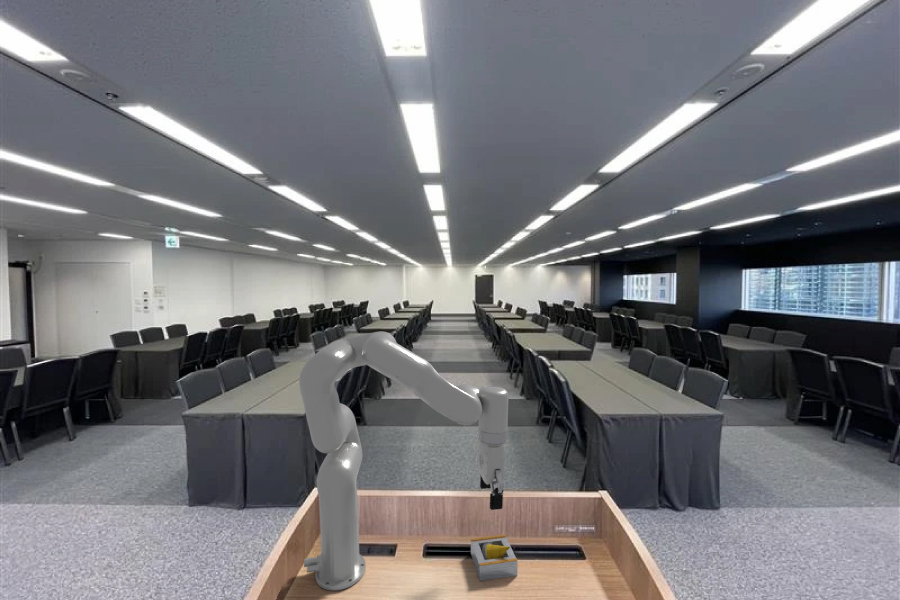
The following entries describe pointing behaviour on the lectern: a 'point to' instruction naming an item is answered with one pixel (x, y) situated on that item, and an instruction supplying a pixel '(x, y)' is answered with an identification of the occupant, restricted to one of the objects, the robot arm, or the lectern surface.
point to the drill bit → (493, 551)
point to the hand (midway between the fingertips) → (490, 497)
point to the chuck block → (493, 566)
